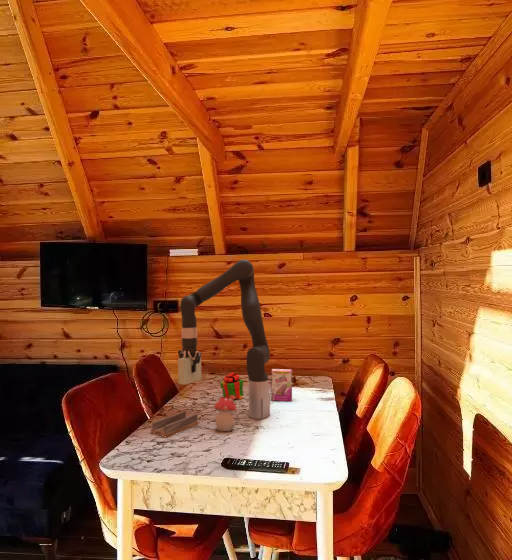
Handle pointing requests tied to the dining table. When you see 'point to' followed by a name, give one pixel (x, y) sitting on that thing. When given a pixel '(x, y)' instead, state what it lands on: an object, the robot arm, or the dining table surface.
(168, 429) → the door track
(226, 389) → the gift box
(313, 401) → the dining table surface
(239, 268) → the robot arm
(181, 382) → the door panel
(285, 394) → the candy bar box
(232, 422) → the decorative ornament
